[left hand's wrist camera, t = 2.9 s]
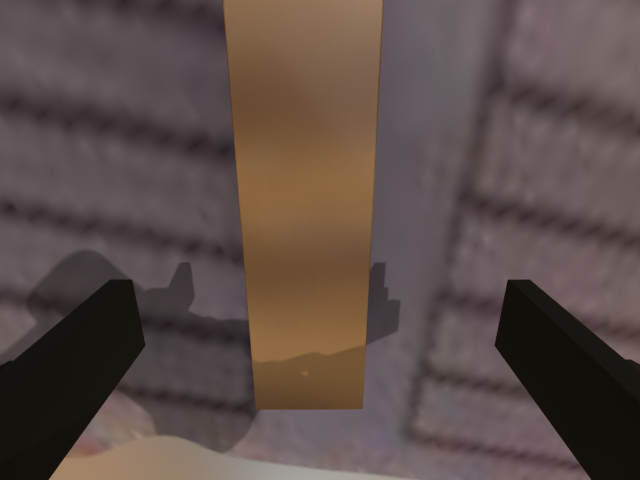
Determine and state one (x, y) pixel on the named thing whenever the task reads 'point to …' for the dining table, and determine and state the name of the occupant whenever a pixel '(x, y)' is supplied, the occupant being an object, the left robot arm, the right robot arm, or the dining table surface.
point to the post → (305, 190)
